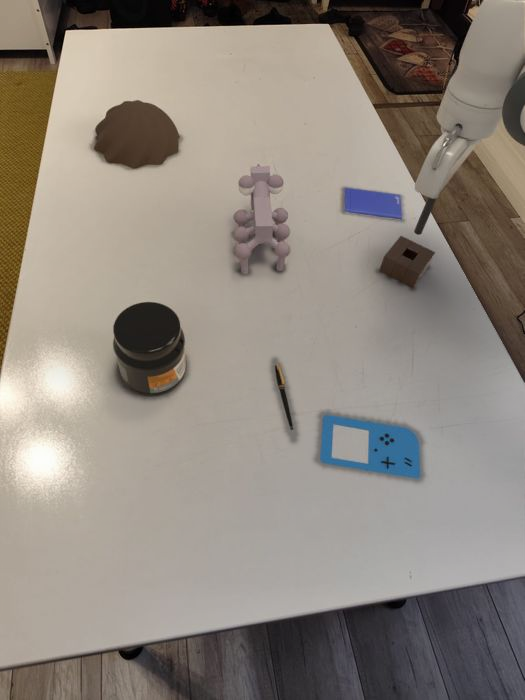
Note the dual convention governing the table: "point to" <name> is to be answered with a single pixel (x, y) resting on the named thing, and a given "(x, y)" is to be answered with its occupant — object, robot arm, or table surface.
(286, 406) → the fountain pen
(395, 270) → the holder
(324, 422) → the handheld gaming device
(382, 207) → the hard drive
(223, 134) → the table surface
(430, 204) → the stylus
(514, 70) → the robot arm
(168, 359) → the supplement container
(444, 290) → the table surface
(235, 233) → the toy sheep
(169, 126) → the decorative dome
